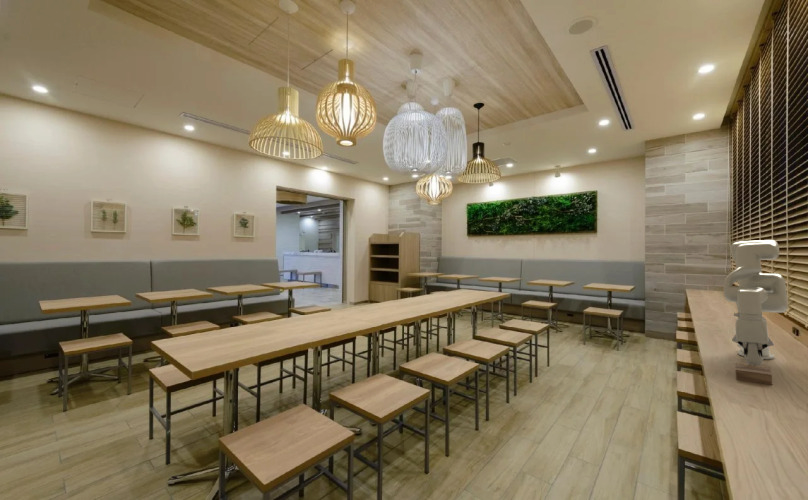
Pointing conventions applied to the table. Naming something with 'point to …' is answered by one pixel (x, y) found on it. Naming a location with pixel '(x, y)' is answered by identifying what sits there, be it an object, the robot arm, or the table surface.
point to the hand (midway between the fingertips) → (753, 356)
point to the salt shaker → (753, 354)
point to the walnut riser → (753, 374)
